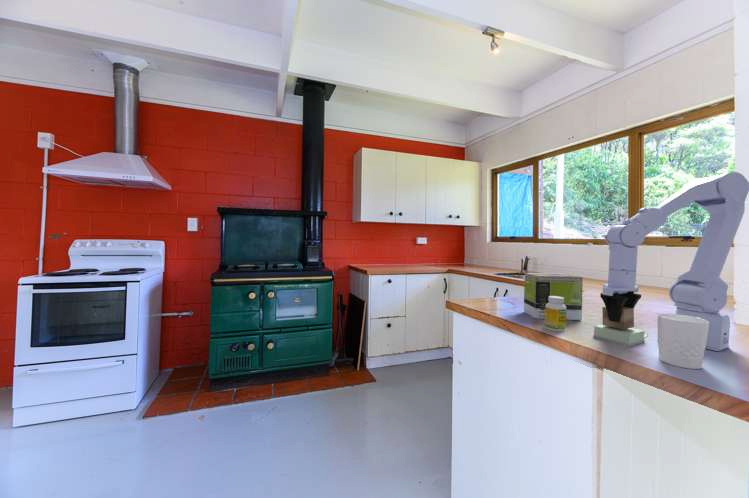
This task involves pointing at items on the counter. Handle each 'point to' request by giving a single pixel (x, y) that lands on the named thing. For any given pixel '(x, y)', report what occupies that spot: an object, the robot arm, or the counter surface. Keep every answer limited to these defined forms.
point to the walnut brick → (624, 322)
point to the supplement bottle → (555, 314)
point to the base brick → (619, 335)
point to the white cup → (682, 340)
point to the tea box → (552, 293)
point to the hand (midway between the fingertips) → (619, 320)
